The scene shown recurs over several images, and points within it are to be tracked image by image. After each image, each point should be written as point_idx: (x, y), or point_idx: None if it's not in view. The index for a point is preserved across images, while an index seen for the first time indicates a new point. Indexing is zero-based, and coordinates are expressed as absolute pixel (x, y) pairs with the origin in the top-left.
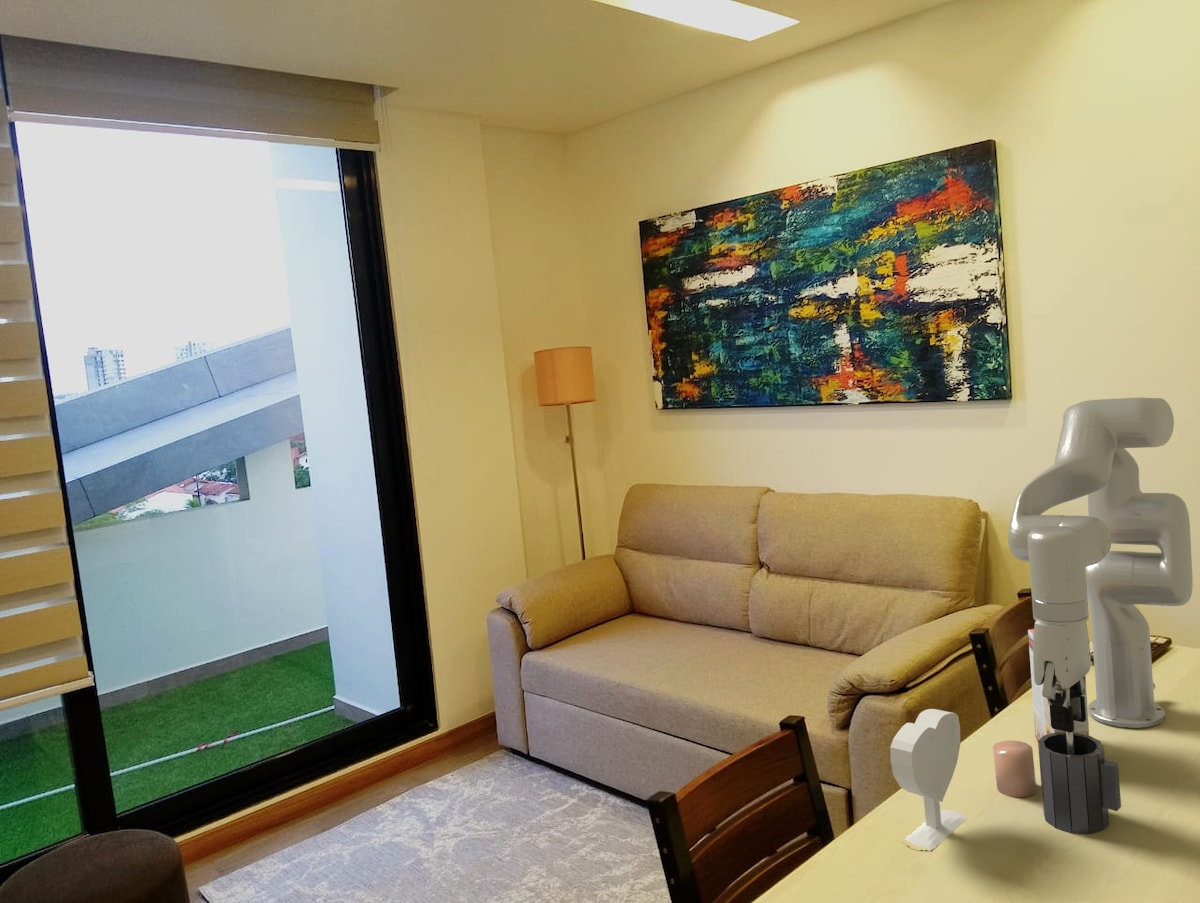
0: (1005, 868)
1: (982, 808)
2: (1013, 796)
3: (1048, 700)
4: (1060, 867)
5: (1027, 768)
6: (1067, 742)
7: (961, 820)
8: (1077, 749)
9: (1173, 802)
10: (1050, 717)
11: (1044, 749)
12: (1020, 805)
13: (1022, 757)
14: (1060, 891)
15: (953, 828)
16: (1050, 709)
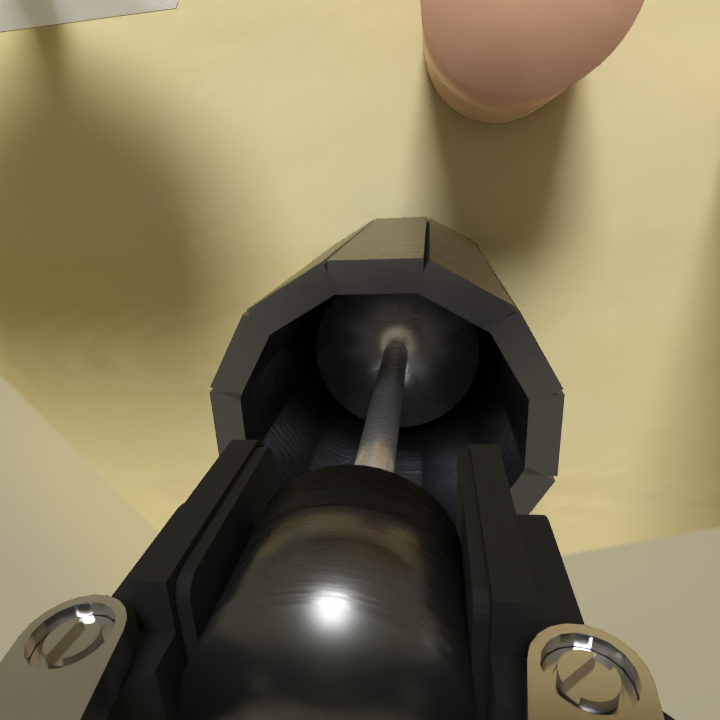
0: (31, 272)
1: (275, 15)
2: (426, 67)
3: (8, 657)
4: (137, 380)
5: (478, 101)
6: (364, 432)
7: (144, 4)
8: (514, 380)
9: (662, 499)
10: (203, 480)
11: (235, 344)
12: (381, 124)
13: (464, 78)
14: (52, 417)
15: (82, 13)
16: (169, 535)
